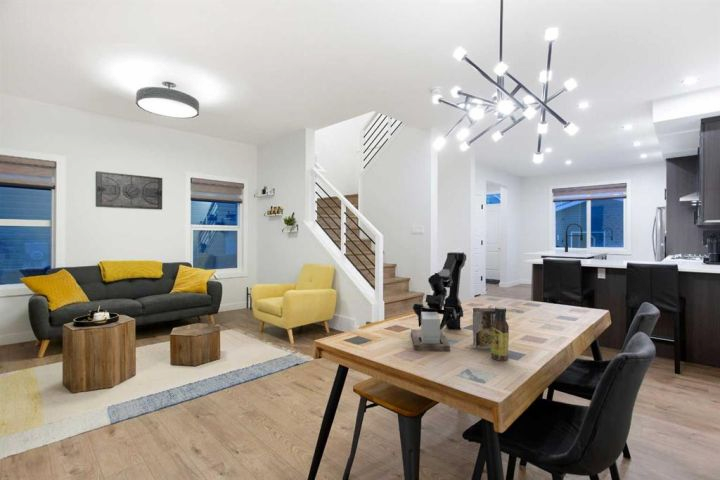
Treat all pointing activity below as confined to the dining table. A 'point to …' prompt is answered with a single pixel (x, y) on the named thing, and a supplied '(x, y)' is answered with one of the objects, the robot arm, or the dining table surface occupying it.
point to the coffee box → (482, 327)
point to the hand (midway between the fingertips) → (429, 327)
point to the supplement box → (430, 328)
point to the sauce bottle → (500, 335)
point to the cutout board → (431, 347)
